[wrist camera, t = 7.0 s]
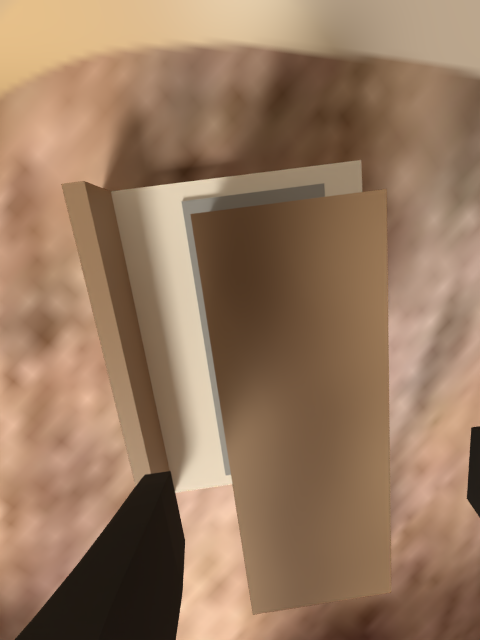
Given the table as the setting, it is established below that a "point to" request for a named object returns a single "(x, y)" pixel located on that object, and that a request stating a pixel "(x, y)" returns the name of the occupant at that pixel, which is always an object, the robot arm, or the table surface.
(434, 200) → the table surface
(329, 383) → the brown slab
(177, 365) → the tan rimmed flat piece
